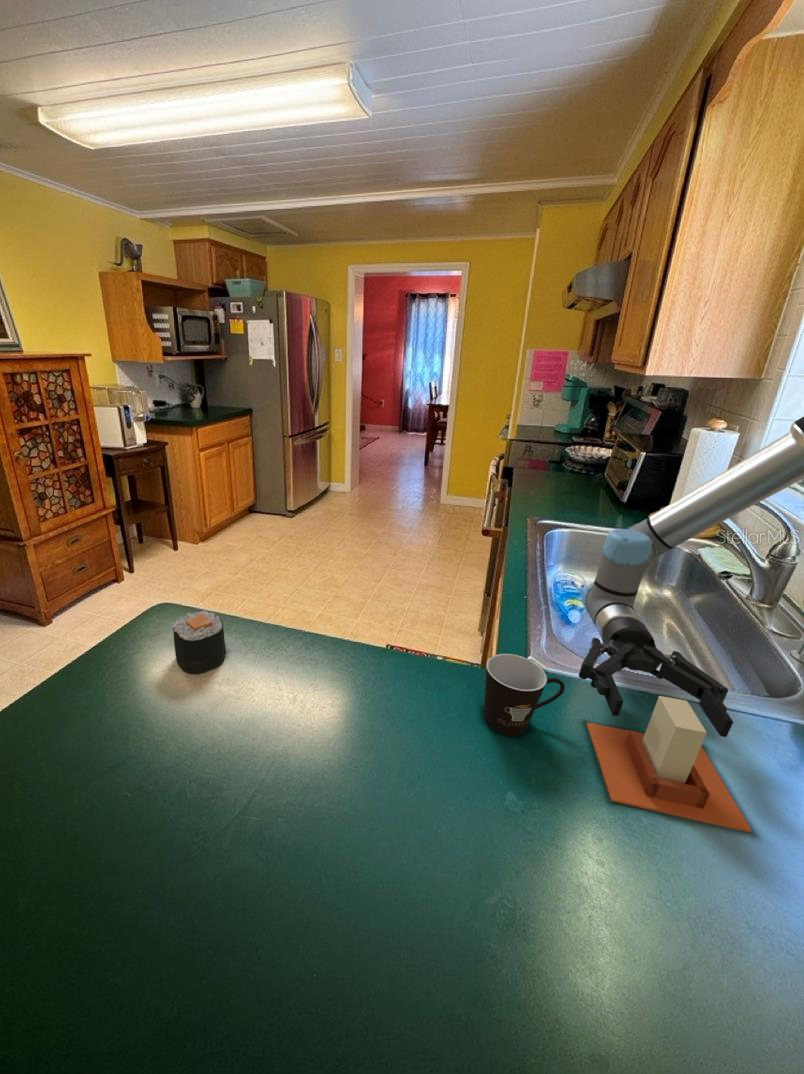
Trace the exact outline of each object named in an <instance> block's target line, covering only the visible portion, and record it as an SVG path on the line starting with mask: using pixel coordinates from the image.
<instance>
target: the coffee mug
mask: <svg viewBox="0 0 804 1074" xmlns="http://www.w3.org/2000/svg"><path fill="white" fill-rule="evenodd" d="M550 683H551V684H552V683H556V684H557V685H559V686H560V687H559V690H558V691H557V693H555V694H554V695H553V696H551V697H549V698H547V699H545V700H542V701H540V700H541V697H542V694H543V691H544V689H545V687H546V685H547V684H550ZM484 685H485V686H484V699H483V700H484V702H483V704H484V705H483V718H484V719H483V720H485V723H486V724H487V726H488V727H490V728H491V729H492V730H494V731H495V732H497V733H500V734H502V735H505V736H513V737H515V736H521V735H522V734H524V733H525V732H526V731H527V729H528V726H529V725H530V722H531V721H532V717H533V715H534V713H535V711H536V710H537V709H541V707H544V706H547V705H548V704H550V703H552V702H554V701H556V700H557V699H559V697H561V696H562V695H563V694H564V692H565V683H564V682H563V681H562V680H561V679H559V678H556V677H549V678H548V677H547V673H546V672H545V671H544V670H543V668H542V667H541V666H539V665H538V664H537V663H536V662H534V660H533V661H532V660H531V659H529V658H526V657H524V656H521V655H518V654H513V653H499V654H495V655H492V656H491V657H489V658H488V660H487V662H486V667H485V683H484Z"/></svg>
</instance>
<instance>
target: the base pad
mask: <svg viewBox="0 0 804 1074" xmlns="http://www.w3.org/2000/svg"><path fill="white" fill-rule="evenodd" d="M586 726H587V729H588V733H589V736H590V740H591V742H592V745H593V748H594V752H595V756H596V758H597V762H598V764H599V768H600V771H601V774H602V777H603V780H604V783H605V786H606V791H607V793H608V796H609V799H610V801H611V802H612V803H618V804H622V805H627V806H631V807H635V808H639V809H644V810H648V811H652V812H657V813H661V814H666V815H671V816H675V817H680V818H683V819H689V820H693V821H698V822H702V823H707V824H710V825H714V826H720V827H724V828H728V829H732V830H737V831H742V832H746V833H752V828H751V826H750V825H749V823H748V822H747V820H746V819H745V816H744V815H743V813H742V812H741V810H740V809H739V806H738V805H737V803H736V801H735V799H734V798H733V796H732V795H731V793H730V791H729V790H728V788H727V786H726V785H725V783H724V782H723V780H722V778H721V777H720V776H721V775H720V774H719V773H718V771H717V769H716V767H715V766H714V764H713V763H712V761H711V760H710V758H709V756H708V755H707V753H706V751H705V749H704V748H703V745H702V746H701V748H700V750H699V752H698V755H697V757H696V759H695V762H694V764H693V766H692V768H691V771H690V773H689V775H688V778H687V780H686V782H685V784H683V783H679V782H674V781H669V780H665V779H660V778H657V775H656V773H655V771H654V769H653V766H652V764H651V762H650V760H649V757H648V755H647V753H646V751H645V748H644V746H643V744H642V740H643V738H644V735H645V733H643V732H638V731H637V730H627V729H623V728H619V727H618V728H617V727H612V726H608V725H603V724H597V723H592V722H586Z"/></svg>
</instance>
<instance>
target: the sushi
mask: <svg viewBox="0 0 804 1074" xmlns="http://www.w3.org/2000/svg"><path fill="white" fill-rule="evenodd" d="M171 627H172V633H173V645H174V653H175V661H176V664H177V666H179V667H180V669H181V670H182V671H183V672H184V673H186V674H189V675H200V674H205V673H207V672H210V671H211V670H214V669H216V668H219V666H221V665H222V664H223V663H224V662H225V656H226V655H227V653H226V652H227V651H226V644H225V643H226V642H225V630H224V629H225V628H224V622H223V620H221V618H220V617H219V614H218V615H215V613H214V612H209V611H206V610H202V611H199V612H198V611H195V613H194V612H192V613H191V612H187V613H185V616H183V615H181V616H180V617H178V619H177V618H176V619H175V621H174V622H173V623H171Z"/></svg>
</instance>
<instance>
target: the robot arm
mask: <svg viewBox="0 0 804 1074" xmlns="http://www.w3.org/2000/svg"><path fill="white" fill-rule="evenodd" d="M803 480H804V415H803V416H802V417H800V418H798V419H797V420H795V421H793V422H792V423H791V425H790V428H789V431H788V432H787V433H786V434H784V435H782V436H781V437H779V438H778V439H776V440H773V442H771V443H769V444H767V445H766V446H764V447H762V448H760V449H759V450H758V451H756V452H754V453H753V454H751V455H749V456H748V457H746V458H744V459H743V460H741V461H739V462H738V463H736V464H734V465H733V466H731V467H730V468H727V469H726V470H725V471H724V470H723V472H721V473H719V474H718V475H716V476H715V477H713V478H711V479H709V480H708V481H706V482H704V483H702V484H701V485H700V486H698V487H696V488H695V489H693V490H691V491H689V492H688V493H686V494H685V495H683V496H681V497H679V498H678V499H676V500H674V501H673V502H671V503H670V504H668V505H667V506H664V507H663V508H661V509H660V510H658V511H657V512H654V513H653V514H651V515H650V516H649V517H647V518H645V519H643V520H642V521H640V522H638V523H635V524H633V525H631V526H629V527H627V528H618V529H613V530H611V531H609V532H608V534H607V537H606V540H605V543H604V544H602V545H603V546H602V552H601V557H600V560H599V563H598V567H597V571H596V574H595V578H594V581H593V582H592V583H590V584H589V585H588V586H587V587H586V588H585V590H584V591H583V602H584V606H585V609H586V612H587V614H588V615H589V618H590V619H591V621H592V623H593V624H594V627H595V628H596V630H597V633H598V634H599V637H600V639H601V640H600V639H599V637H598V638H597V637H592V639H591V642H590V644H589V648H588V652H587V654H586V656H585V657H584V659H583V661H582V662H581V666H580V670H579V673H578V678H580V679H581V680H587V679H589V680H591V682H590V687H592V688H593V689H596V692H597V693H598V695H600V696H604V698H605V701H606V703H607V706H608V708H609V710H610V713H611V715H612V716H613V717H616V718H619V716H620V713H621V710H622V707H623V704H624V700H623V697H622V694H621V693H620V690H619V688H618V686H617V684H616V681H615V680H614V677H613V675H614V674H615V673H617V672H618V673H619V672H621V671H622V670H624V668H627V669H629V670H631V671H640V672H643V673H647V674H650V675H652V676H654V677H655V678H657V679H659V680H662V679H664V680H665V681H667V682H669V683H671V684H672V685H673V686H676V687H677V688H679V689H680V690H682V691H684V692H685V693H687V694H689V695H691V696H692V697H694V698H695V699H697V700H698V701H699V702H698V705H699V707H700V708H701V710H702V712H703V713H704V714H705V716H706V717H707V719H708V720H709V722H710V723H711V725H712V726H713V728H714V729H715V731H716V733H717V734H718V736H719V737H723V738H727V737H728V735H729V733H730V731H731V728H732V726H733V724H734V721H733V719H732V718H731V716H730V714H728V712H727V711H728V709H727V706H726V705H725V703H724V701H725V700H726V697H727V694H728V693H729V688H728V687H726V686H724V685H723V684H722V683H720V682H719V681H717V679H715V678H713V677H712V676H711V675H709V674H707V673H706V672H704V671H703V670H702V669H701V668H699V667H697V666H696V665H695V664H693V663H691V661H688V660H687V659H686V658H685V656H683V655H682V653H680V652H679V651H677V650H672V652H671V654H666V653H663V651H661V650H659V648H657V646H656V642H655V639H654V636H653V635H652V634H651V632H650V631H649V629H648V627H647V626H646V624H645V623H644V621H643V620H642V619H641V616H639V614H638V612H637V610H636V609H635V607H634V604H635V601H636V598H637V595H638V592H639V588H640V585H641V583H642V580H643V577H644V574H645V572H646V570H647V569H648V568H649V566H650V565H651V563H652V562H654V560H655V559H657V558H658V557H660V556H661V555H664V554H665V553H668V552H670V551H671V550H672V549H674V548H675V547H678V546H679V545H681V544H683V543H685V542H687V541H689V540H690V539H692V538H694V537H696V536H698V535H700V534H702V533H704V532H706V531H708V530H710V529H711V528H713V527H715V526H717V525H719V524H721V523H723V522H725V521H726V520H728V519H730V518H732V517H733V516H736V515H738V514H739V513H741V512H744V511H746V510H747V509H749V508H751V507H753V506H754V505H757V504H759V503H760V502H762V501H764V500H766V499H768V498H771V497H772V496H774V495H775V494H777V493H780V492H781V491H784V490H785V489H787V488H789V487H791V486H792V485H794V484H796V483H798V482H800V481H803ZM601 641H602V642H601ZM604 653H606V655H608V656H609V657H608V658H606V660H604V661H602V662H601V663H600V664H598V665H597V666H595V665H596V663H597V662H598V659H599V658H601V656H602V655H604ZM594 666H595V667H594ZM659 667H660V668H659ZM658 668H659V670H658Z"/></svg>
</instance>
